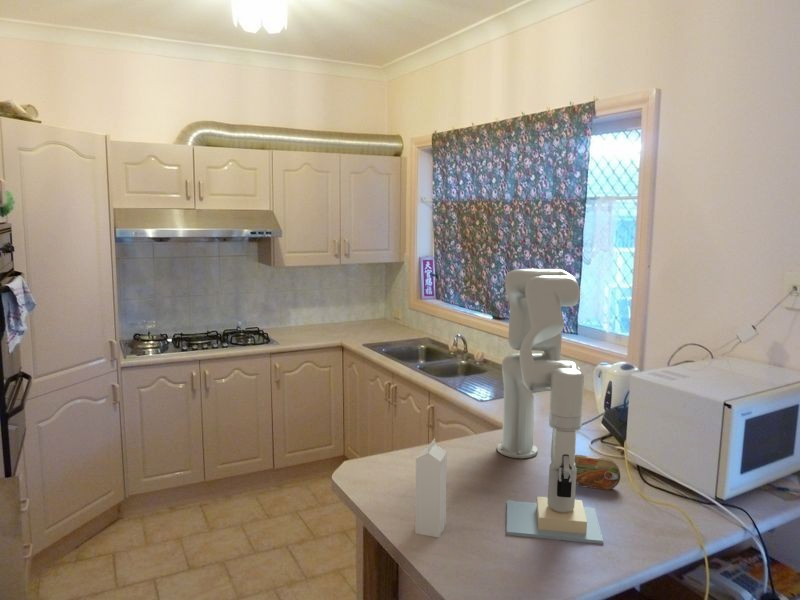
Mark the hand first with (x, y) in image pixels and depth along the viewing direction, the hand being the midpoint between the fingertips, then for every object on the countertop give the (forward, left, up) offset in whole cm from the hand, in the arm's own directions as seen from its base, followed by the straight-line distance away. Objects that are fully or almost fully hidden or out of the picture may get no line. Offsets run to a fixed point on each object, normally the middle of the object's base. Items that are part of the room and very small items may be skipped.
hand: (562, 487), depth 151 cm
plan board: (0, -2, -9) cm, 10 cm away
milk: (+9, -31, -9) cm, 34 cm away
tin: (-23, +10, -10) cm, 27 cm away
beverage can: (0, 0, -6) cm, 6 cm away
